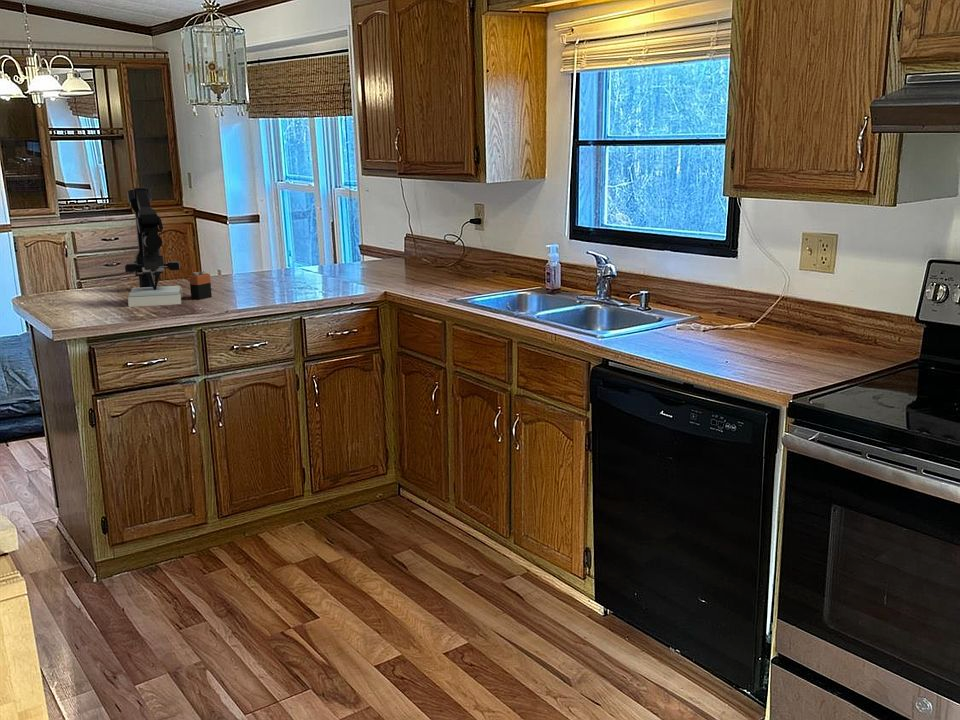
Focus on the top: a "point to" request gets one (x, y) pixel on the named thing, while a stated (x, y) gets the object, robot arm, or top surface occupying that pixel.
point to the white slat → (155, 300)
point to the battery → (200, 285)
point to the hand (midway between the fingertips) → (155, 289)
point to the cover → (154, 291)
